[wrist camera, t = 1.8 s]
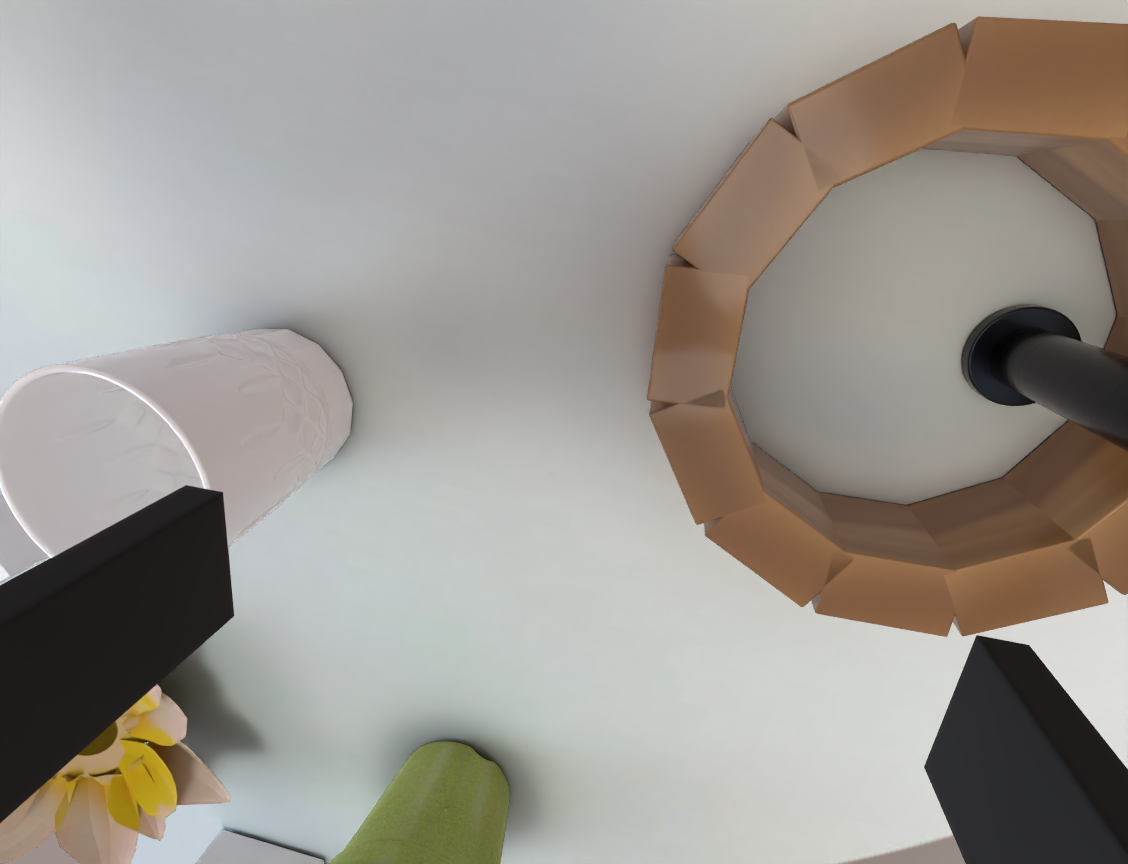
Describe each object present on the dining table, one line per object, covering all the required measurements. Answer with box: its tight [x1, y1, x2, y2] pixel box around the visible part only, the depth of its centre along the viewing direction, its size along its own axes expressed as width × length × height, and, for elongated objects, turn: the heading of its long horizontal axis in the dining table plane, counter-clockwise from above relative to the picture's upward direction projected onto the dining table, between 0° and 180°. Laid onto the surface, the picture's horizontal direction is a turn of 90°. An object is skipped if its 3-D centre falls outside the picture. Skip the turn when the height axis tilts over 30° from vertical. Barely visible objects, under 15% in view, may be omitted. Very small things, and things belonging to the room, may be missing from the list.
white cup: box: [0, 329, 353, 558], centre depth 24 cm, size 8×8×10 cm
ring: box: [647, 17, 1128, 637], centre depth 21 cm, size 18×18×5 cm
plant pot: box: [329, 741, 510, 864], centre depth 31 cm, size 9×9×9 cm
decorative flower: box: [0, 684, 230, 864], centre depth 33 cm, size 15×11×10 cm
